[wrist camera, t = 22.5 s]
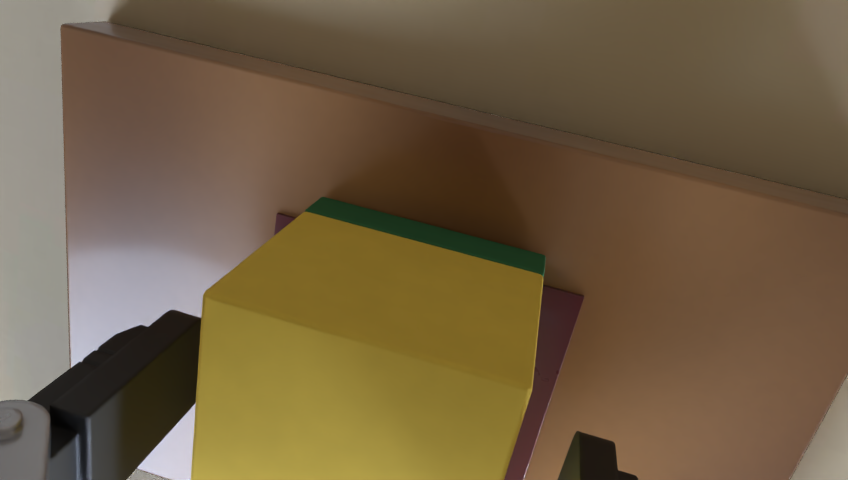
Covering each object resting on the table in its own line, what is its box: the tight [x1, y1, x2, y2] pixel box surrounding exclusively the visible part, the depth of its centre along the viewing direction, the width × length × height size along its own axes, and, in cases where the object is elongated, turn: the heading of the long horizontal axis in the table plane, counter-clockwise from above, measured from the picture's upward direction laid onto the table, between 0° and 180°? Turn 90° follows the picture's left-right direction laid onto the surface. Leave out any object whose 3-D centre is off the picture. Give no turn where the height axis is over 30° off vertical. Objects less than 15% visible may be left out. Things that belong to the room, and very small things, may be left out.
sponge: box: [191, 197, 546, 480], centre depth 13 cm, size 8×5×5 cm, turn 169°
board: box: [61, 22, 848, 480], centre depth 16 cm, size 18×12×2 cm, turn 78°
